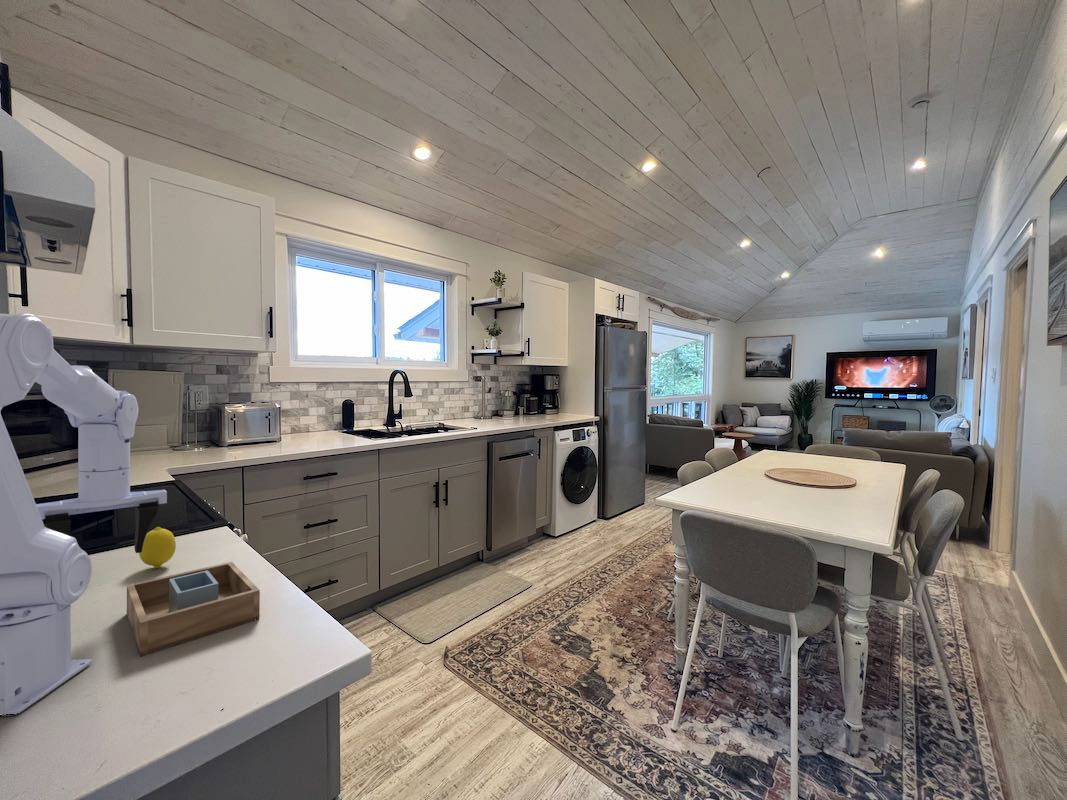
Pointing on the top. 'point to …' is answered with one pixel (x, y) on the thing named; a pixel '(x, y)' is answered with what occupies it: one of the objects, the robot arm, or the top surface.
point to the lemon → (158, 547)
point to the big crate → (189, 609)
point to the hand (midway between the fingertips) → (104, 557)
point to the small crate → (192, 590)
